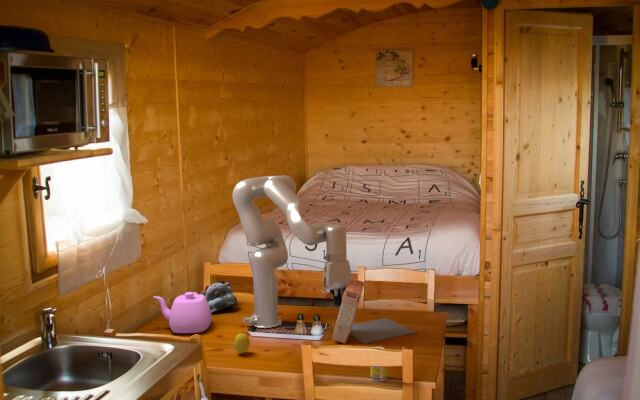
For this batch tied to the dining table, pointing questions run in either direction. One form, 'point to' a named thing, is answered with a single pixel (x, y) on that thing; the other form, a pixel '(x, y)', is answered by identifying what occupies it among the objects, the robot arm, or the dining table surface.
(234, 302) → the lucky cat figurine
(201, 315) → the teapot
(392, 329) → the slate mat
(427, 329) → the dining table surface
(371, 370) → the supplement bottle
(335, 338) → the cracker box
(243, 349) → the lemon
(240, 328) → the dining table surface
